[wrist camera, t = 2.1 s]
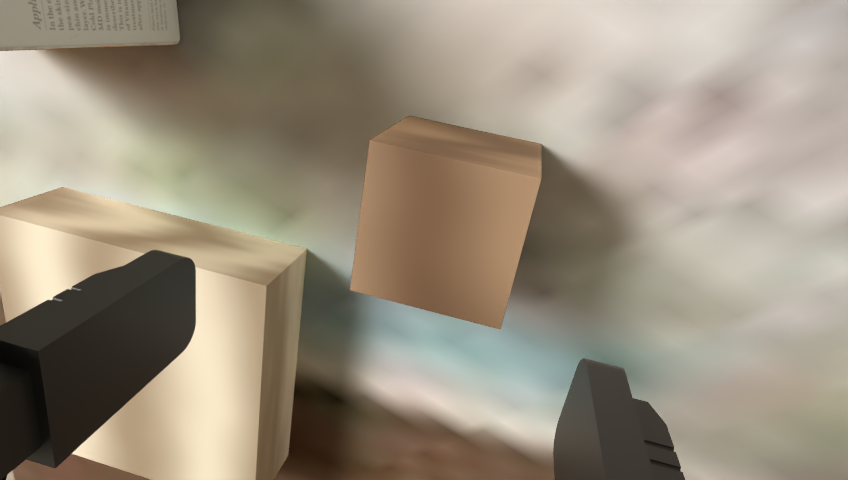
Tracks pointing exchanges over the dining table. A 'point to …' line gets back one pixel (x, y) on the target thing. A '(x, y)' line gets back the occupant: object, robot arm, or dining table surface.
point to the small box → (87, 23)
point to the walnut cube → (445, 218)
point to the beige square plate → (209, 347)
